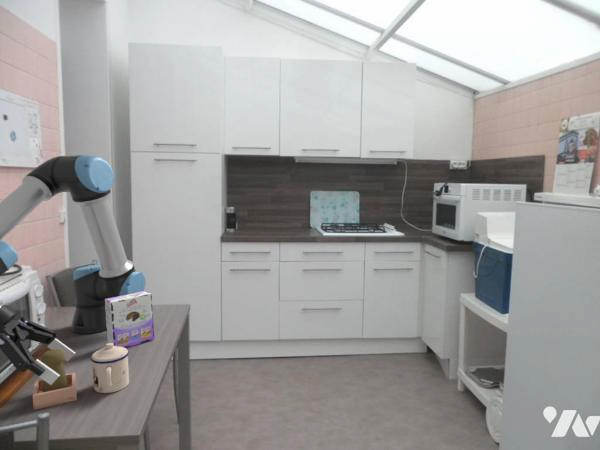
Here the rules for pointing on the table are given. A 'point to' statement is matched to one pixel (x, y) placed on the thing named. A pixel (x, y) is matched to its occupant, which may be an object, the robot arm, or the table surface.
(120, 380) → the teacup with lid
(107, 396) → the table surface
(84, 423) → the table surface
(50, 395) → the tray
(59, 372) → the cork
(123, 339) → the candy box
